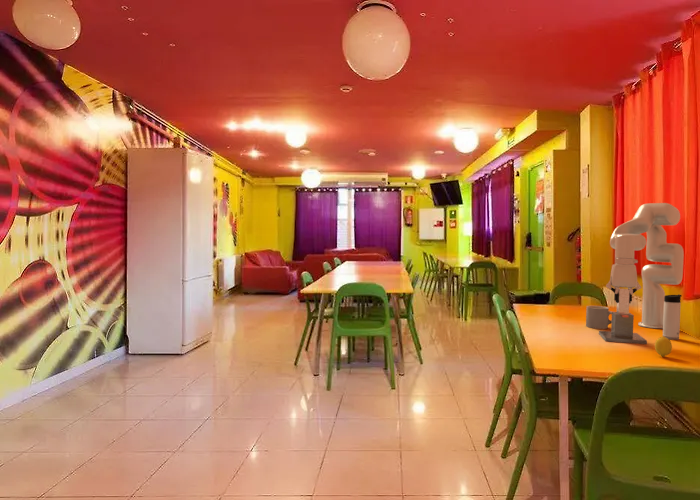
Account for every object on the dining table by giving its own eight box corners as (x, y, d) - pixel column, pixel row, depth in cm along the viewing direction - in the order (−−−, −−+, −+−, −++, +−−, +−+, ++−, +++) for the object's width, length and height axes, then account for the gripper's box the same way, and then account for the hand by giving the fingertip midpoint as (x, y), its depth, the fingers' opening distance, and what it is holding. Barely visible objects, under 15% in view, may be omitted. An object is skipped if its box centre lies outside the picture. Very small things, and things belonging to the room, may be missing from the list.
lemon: (651, 355, 193) (652, 334, 192) (664, 354, 193) (665, 334, 193) (661, 358, 187) (662, 338, 187) (675, 358, 188) (675, 337, 187)
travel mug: (682, 340, 220) (684, 295, 219) (666, 339, 221) (667, 295, 220) (676, 337, 226) (677, 293, 225) (660, 336, 227) (662, 293, 226)
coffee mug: (585, 327, 246) (585, 307, 246) (586, 324, 255) (587, 305, 255) (615, 330, 240) (616, 310, 239) (616, 327, 248) (616, 307, 248)
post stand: (598, 333, 231) (599, 309, 231) (637, 336, 227) (637, 311, 226) (605, 341, 216) (606, 315, 216) (646, 344, 211) (647, 317, 211)
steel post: (615, 328, 224) (617, 288, 223) (626, 328, 222) (627, 288, 222) (617, 329, 220) (619, 289, 219) (628, 330, 219) (629, 290, 218)
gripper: (643, 262, 221) (641, 302, 222) (601, 260, 226) (600, 300, 227) (648, 263, 214) (646, 305, 215) (605, 262, 219) (603, 303, 219)
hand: (622, 302), depth 221 cm, fingers closed on steel post, 4 cm apart
